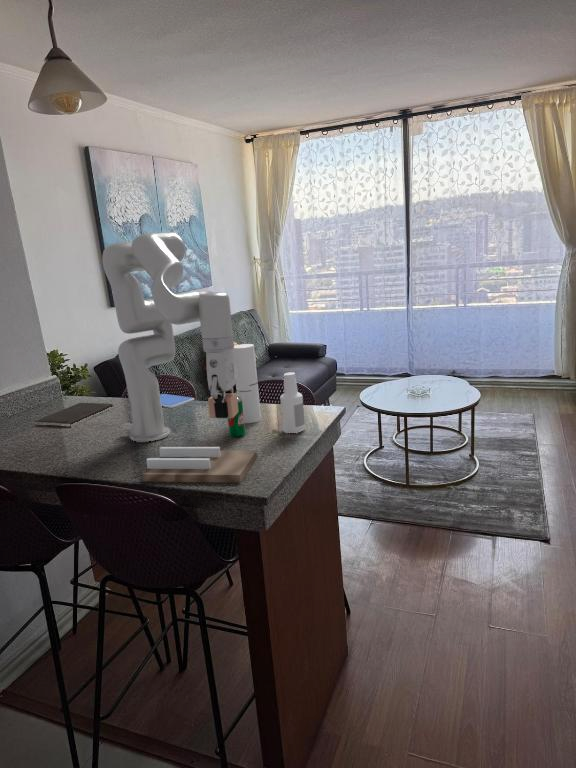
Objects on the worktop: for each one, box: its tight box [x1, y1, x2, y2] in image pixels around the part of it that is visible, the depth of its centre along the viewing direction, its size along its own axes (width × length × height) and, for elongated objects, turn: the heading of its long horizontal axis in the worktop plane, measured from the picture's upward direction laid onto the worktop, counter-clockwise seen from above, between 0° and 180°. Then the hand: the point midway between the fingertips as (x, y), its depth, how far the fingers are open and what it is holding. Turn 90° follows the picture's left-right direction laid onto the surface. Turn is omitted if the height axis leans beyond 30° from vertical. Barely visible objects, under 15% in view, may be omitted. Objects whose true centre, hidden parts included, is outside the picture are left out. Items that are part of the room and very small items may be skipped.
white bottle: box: [279, 371, 306, 435], centre depth 167 cm, size 7×7×18 cm
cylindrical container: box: [233, 343, 262, 424], centre depth 180 cm, size 7×7×25 cm
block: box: [207, 392, 239, 419], centre depth 139 cm, size 6×5×5 cm
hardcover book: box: [35, 402, 114, 425], centre depth 205 cm, size 16×23×2 cm
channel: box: [146, 446, 221, 469], centre depth 145 cm, size 17×9×2 cm, turn 78°
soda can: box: [226, 396, 246, 439], centre depth 168 cm, size 5×5×12 cm
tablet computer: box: [160, 393, 195, 409], centre depth 216 cm, size 19×13×1 cm, turn 53°
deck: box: [141, 450, 258, 484], centre depth 145 cm, size 26×16×2 cm, turn 78°
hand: (225, 413), depth 140 cm, fingers closed on block, 5 cm apart
